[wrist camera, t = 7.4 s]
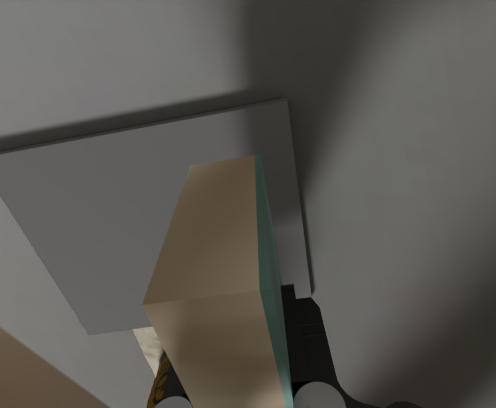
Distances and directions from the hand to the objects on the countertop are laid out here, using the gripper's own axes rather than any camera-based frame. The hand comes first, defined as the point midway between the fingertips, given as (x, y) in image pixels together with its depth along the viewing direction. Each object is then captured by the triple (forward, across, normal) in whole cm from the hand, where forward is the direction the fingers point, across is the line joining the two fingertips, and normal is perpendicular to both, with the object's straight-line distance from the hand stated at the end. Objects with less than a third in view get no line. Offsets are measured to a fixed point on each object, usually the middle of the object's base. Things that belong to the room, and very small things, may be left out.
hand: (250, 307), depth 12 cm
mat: (+6, +4, 0) cm, 7 cm away
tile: (-1, 0, -5) cm, 5 cm away
